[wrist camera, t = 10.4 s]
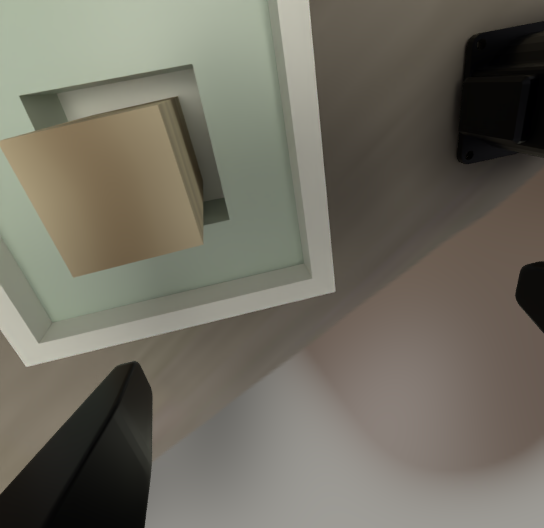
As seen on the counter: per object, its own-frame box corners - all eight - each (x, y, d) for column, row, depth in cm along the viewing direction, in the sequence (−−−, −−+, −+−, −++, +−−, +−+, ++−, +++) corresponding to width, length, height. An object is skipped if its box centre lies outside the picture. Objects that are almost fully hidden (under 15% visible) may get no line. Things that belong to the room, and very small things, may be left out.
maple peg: (177, 96, 16) (157, 104, 9) (202, 181, 18) (203, 244, 11) (89, 115, 15) (-4, 141, 8) (125, 200, 17) (73, 277, 10)
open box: (262, -56, 15) (296, -135, 9) (302, 240, 21) (335, 291, 16) (-86, 0, 14) (-267, -54, 8) (72, 293, 20) (26, 366, 15)
